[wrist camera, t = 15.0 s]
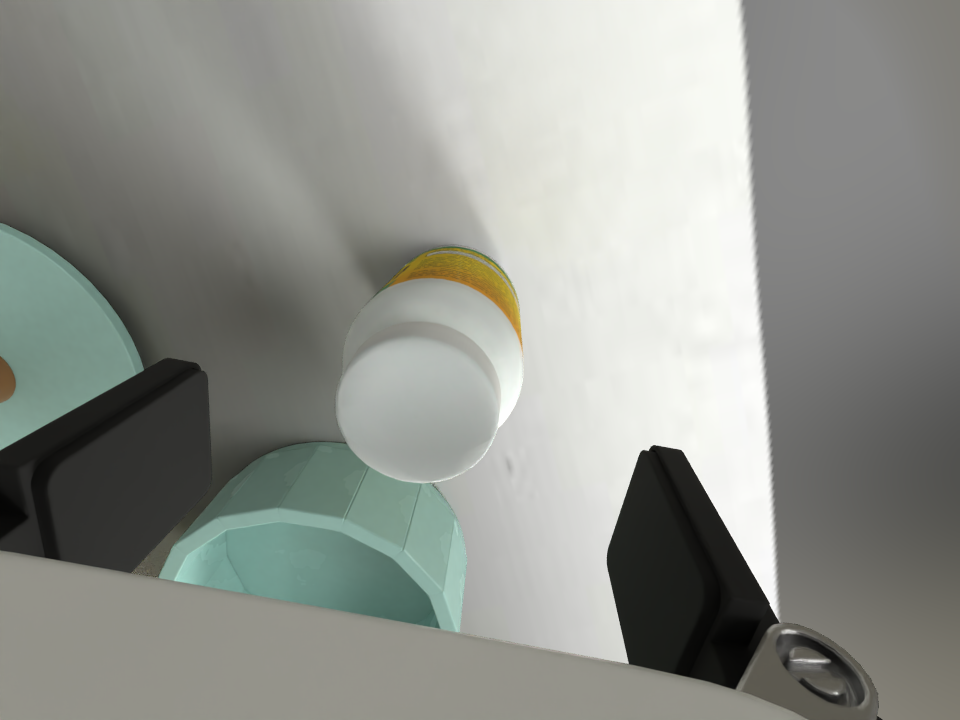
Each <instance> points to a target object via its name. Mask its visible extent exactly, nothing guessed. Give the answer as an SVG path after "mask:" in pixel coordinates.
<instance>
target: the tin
mask: <svg viewBox="0 0 960 720" xmlns="http://www.w3.org/2000/svg"><path fill="white" fill-rule="evenodd" d="M466 566H467V557H466V553H465V543H464V538H463V534H462V530H461V528H460V525H459V523H458V520H457V518H456V516H455V514H454V513H453V511H452V509H451V507H450V506H449V504H448V503H447V502H446V500H445V499H444V498H443V496H442V495H441V494H440V493H439V492H438V491H437V490H436V489H435V488H434V487H433V486H432V485H431V484H430V483H413V482H405V481H401V480H397V479H394V478H391V477H389V476H386V475H384V474H382V473H380V472H378V471H376V470H374V469H373V468H371V467H370V466H368V465H366V464H365V463H364V462H363V461H362V460H361V459H360V458H358V457H357V456H356V455H355V454H354V452H353V451H352V450H351V449H350V448H349V446H348V445H347V444H345V443H336V442H310V443H302V444H295V445H291V446H287V447H283V448H280V449H278V450H275V451H272V452H270V453H267V454H265V455H264V456H262V457H260V458H258V459H257V460H255V461H253V462H252V463H251V464H249V465H248V466H247V467H246V468H244V469H243V470H242V471H241V472H240V473H239V474H238V475H236V476H235V477H233V478H232V479H230V481H229V482H228V483H227V484H226V485H225V486H224V487H223V489H222V490H221V491H220V492H219V493H218V494H217V496H216V497H215V498H214V499H213V500H212V501H211V503H210V504H209V505H208V506H207V507H206V508H205V509H204V511H203V512H202V513H201V514H200V515H199V516H198V518H197V519H196V520H195V521H194V522H193V523H192V524H191V526H190V527H189V528H188V529H187V530H186V531H185V533H184V534H183V535H182V536H181V537H180V538H179V539H178V541H177V542H176V543H175V544H174V545H173V547H172V549H171V551H170V553H169V555H168V557H167V559H166V561H165V563H164V565H163V568H162V570H161V572H160V574H159V576H158V578H161V579H167V580H173V581H178V582H184V583H190V584H195V585H201V586H206V587H212V588H218V589H223V590H229V591H235V592H240V593H246V594H251V595H257V596H262V597H268V598H274V599H279V600H285V601H290V602H296V603H301V604H307V605H312V606H318V607H323V608H329V609H334V610H340V611H345V612H351V613H356V614H362V615H367V616H373V617H378V618H384V619H389V620H395V621H400V622H406V623H411V624H417V625H422V626H427V627H433V628H438V629H444V630H449V631H454V632H460V622H461V613H462V603H463V594H464V585H465V575H466Z"/></svg>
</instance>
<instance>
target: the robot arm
mask: <svg viewBox="0 0 960 720" xmlns="http://www.w3.org/2000/svg"><path fill="white" fill-rule="evenodd" d="M211 480H212V464H211V441H210V418H209V395H208V377H207V374H206V373H205V372H204V371H201V368H200V366H199V365H198V364H197V363H194V362H188V361H183V360H177V359H171V358H166V359H163V360H162V361H160V362H158V363H156V364H154V365H153V366H151V367H149V368H147V369H145V370H144V371H142V372H140V373H138V374H136V375H135V376H133V377H131V378H129V379H127V380H126V381H124V382H122V383H120V384H118V385H117V386H115V387H113V388H111V389H109V390H108V391H106V392H104V393H102V394H100V395H99V396H97V397H95V398H93V399H91V400H90V401H88V402H86V403H84V404H82V405H81V406H79V407H77V408H75V409H73V410H72V411H70V412H68V413H66V414H64V415H63V416H61V417H59V418H57V419H55V420H54V421H52V422H50V423H48V424H46V425H45V426H43V427H41V428H39V429H37V430H36V431H34V432H32V433H30V434H28V435H27V436H25V437H23V438H21V439H20V440H18V441H16V442H14V443H12V444H11V445H9V446H7V447H5V448H3V449H2V450H0V720H882V719H881V718H879V717H878V716H877V714H878V708H879V701H878V693H877V691H876V688H875V686H874V684H873V683H872V680H871V678H870V677H869V676H868V674H867V673H866V672H865V671H864V669H863V668H862V666H861V665H860V664H859V663H858V662H857V661H856V660H855V659H854V658H853V657H851V655H850V654H849V653H848V652H847V651H846V650H844V649H843V648H842V647H840V646H839V645H837V644H836V643H835V642H833V641H832V640H830V639H829V638H827V637H825V636H824V635H822V634H819V633H818V632H816V631H814V630H812V629H809V628H806V627H804V626H800V625H798V624H791V623H779V621H778V619H777V618H776V616H775V614H774V612H773V611H772V609H771V607H770V605H769V604H770V603H769V601H768V600H767V598H766V596H765V594H764V593H763V591H762V589H761V587H760V586H759V584H758V582H757V580H756V579H755V577H754V575H753V573H752V572H751V570H750V568H749V566H748V565H747V563H746V561H745V559H744V558H743V556H742V554H741V552H740V551H739V549H738V547H737V545H736V544H735V542H734V540H733V538H732V537H731V535H730V533H729V531H728V530H727V528H726V526H725V524H724V523H723V521H722V519H721V518H720V516H719V514H718V512H717V511H716V509H715V507H714V505H713V504H712V502H711V500H710V498H709V497H708V495H707V493H706V491H705V490H704V488H703V486H702V484H701V483H700V481H699V479H698V477H697V476H696V474H695V472H694V470H693V469H692V467H691V465H690V463H689V462H688V460H687V458H686V456H685V455H684V453H683V452H682V451H681V450H678V449H673V448H667V447H661V446H656V445H653V446H652V447H651V448H650V449H649V451H646V450H643V451H641V453H640V455H639V457H638V460H637V463H636V466H635V469H634V472H633V475H632V478H631V481H630V484H629V487H628V490H627V493H626V496H625V499H624V502H623V505H622V508H621V511H620V514H619V517H618V520H617V523H616V526H615V529H614V532H613V535H612V538H611V541H610V544H609V548H608V552H607V568H608V572H609V576H610V581H611V585H612V590H613V594H614V599H615V603H616V608H617V612H618V617H619V621H620V626H621V630H622V635H623V639H624V644H625V648H626V653H627V657H628V662H629V664H625V663H620V662H615V661H609V660H604V659H599V658H593V657H588V656H583V655H577V654H572V653H567V652H561V651H556V650H551V649H545V648H540V647H535V646H529V645H524V644H519V643H513V642H508V641H502V640H497V639H492V638H486V637H481V636H476V635H470V634H465V633H460V632H454V631H449V630H444V629H438V628H433V627H427V626H422V625H417V624H411V623H406V622H400V621H395V620H389V619H384V618H378V617H373V616H367V615H362V614H356V613H351V612H345V611H340V610H334V609H329V608H323V607H318V606H312V605H307V604H301V603H296V602H290V601H285V600H279V599H274V598H268V597H262V596H257V595H251V594H246V593H240V592H235V591H229V590H223V589H218V588H212V587H206V586H201V585H195V584H190V583H184V582H178V581H173V580H167V579H161V578H156V577H150V576H144V575H138V574H133V573H131V572H132V571H133V570H134V569H135V568H136V567H137V566H138V565H139V564H140V563H141V562H142V561H143V560H144V559H145V558H146V557H147V555H148V554H149V553H150V552H151V551H152V550H153V549H154V548H155V547H156V546H157V545H158V544H159V543H160V542H161V541H162V540H163V538H164V537H165V536H166V535H167V534H168V533H169V532H170V531H171V530H172V529H173V528H174V527H175V526H176V525H177V524H178V523H179V521H180V520H181V519H182V518H183V517H184V516H185V515H186V514H187V513H188V512H189V511H190V510H191V509H192V508H193V507H194V506H195V504H196V503H197V502H198V501H199V500H200V499H201V498H202V497H203V496H204V495H205V494H206V492H207V491H208V489H209V487H210V484H211Z"/></svg>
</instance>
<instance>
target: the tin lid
mask: <svg viewBox="0 0 960 720" xmlns="http://www.w3.org/2000/svg"><path fill="white" fill-rule="evenodd" d="M142 371H144V368H143V365H142V361H141V358H140V356H139V353H138V351H137V349H136V347H135V345H134V342H133V340H132V338H131V336H130V334H129V333H128V331H127V329H126V328H125V326H124V324H123V322H122V321H121V319H120V318H119V316H118V315H117V314H116V312H115V311H114V309H113V308H112V307H111V305H110V304H109V303H108V301H107V300H106V299H105V298H104V297H103V295H102V294H101V293H100V292H99V291H98V290H97V289H96V288H95V287H94V285H93V284H92V283H91V282H90V281H89V280H88V279H87V278H86V277H84V276H83V275H82V274H81V273H80V272H79V271H78V270H77V269H76V268H75V267H74V266H72V265H71V264H70V263H69V262H67V261H66V260H65V259H63V258H62V257H61V256H59V255H58V254H57V253H55V252H54V251H53V250H51V249H50V248H48V247H47V246H45V245H43V244H42V243H40V242H38V241H37V240H35V239H34V238H32V237H30V236H28V235H26V234H24V233H22V232H20V231H18V230H16V229H14V228H12V227H10V226H8V225H5V224H2V223H0V450H2V449H3V448H5V447H7V446H9V445H11V444H12V443H14V442H16V441H18V440H20V439H21V438H23V437H25V436H27V435H28V434H30V433H32V432H34V431H36V430H37V429H39V428H41V427H43V426H45V425H46V424H48V423H50V422H52V421H54V420H55V419H57V418H59V417H61V416H63V415H64V414H66V413H68V412H70V411H72V410H73V409H75V408H77V407H79V406H81V405H82V404H84V403H86V402H88V401H90V400H91V399H93V398H95V397H97V396H99V395H100V394H102V393H104V392H106V391H108V390H109V389H111V388H113V387H115V386H117V385H118V384H120V383H122V382H124V381H126V380H127V379H129V378H131V377H133V376H135V375H136V374H138V373H140V372H142Z"/></svg>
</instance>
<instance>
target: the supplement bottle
mask: <svg viewBox="0 0 960 720" xmlns="http://www.w3.org/2000/svg"><path fill="white" fill-rule="evenodd" d="M342 368H343V374H342V376H341V378H340V381H339V383H338V387H337V391H336V396H335V413H336V419H337V423H338V426H339V429H340V431H341V433H342V435H343V437H344V439H345V441H346V443H347V445H348V446H349V448H350V449H351V450H352V451H353V452H354V454H355V455H356V456H357V457H358V458H360V459H361V460H362V461H363V462H364V463H365V464H366V465H368V466H370V467H371V468H373V469H374V470H376V471H378V472H380V473H382V474H384V475H386V476H389V477H391V478H394V479H397V480H401V481H405V482H413V483H432V482H439V481H444V480H448V479H451V478H454V477H456V476H458V475H460V474H462V473H464V472H466V471H467V470H469V469H470V468H472V467H473V466H474V465H475V464H476V463H477V462H478V461H479V460H480V459H481V458H482V457H483V456H484V455H485V454H486V452H487V451H488V449H489V448H490V446H491V444H492V442H493V440H494V437H495V435H496V431H497V429H498V428H499V427H500V426H501V425H502V424H503V422H504V421H505V420H506V419H507V418H508V416H509V415H510V413H511V411H512V410H513V408H514V406H515V404H516V402H517V400H518V397H519V394H520V391H521V387H522V382H523V373H524V363H523V350H522V338H521V324H520V309H519V302H518V297H517V293H516V291H515V288H514V286H513V284H512V282H511V280H510V278H509V276H508V275H507V273H506V272H505V271H504V269H503V268H502V267H501V266H500V265H499V264H498V263H497V262H496V261H495V260H493V259H492V258H491V257H489V256H488V255H486V254H484V253H482V252H480V251H478V250H476V249H473V248H469V247H465V246H459V245H447V246H441V247H437V248H433V249H431V250H428V251H426V252H424V253H422V254H420V255H418V256H417V257H415V258H414V259H412V260H411V261H410V262H408V263H407V264H406V265H405V266H404V267H403V268H402V269H401V270H400V271H399V272H398V273H397V274H396V275H395V276H394V277H393V278H392V279H391V280H390V281H389V282H388V283H387V284H386V285H385V286H384V287H383V288H382V289H381V290H380V291H379V292H378V293H377V294H376V295H375V296H374V297H373V298H372V299H371V300H370V301H369V302H368V303H367V304H366V305H365V306H364V307H363V308H362V310H361V311H360V312H359V314H358V315H357V317H356V318H355V319H354V321H353V323H352V325H351V327H350V329H349V331H348V334H347V337H346V340H345V343H344V349H343V357H342Z"/></svg>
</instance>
